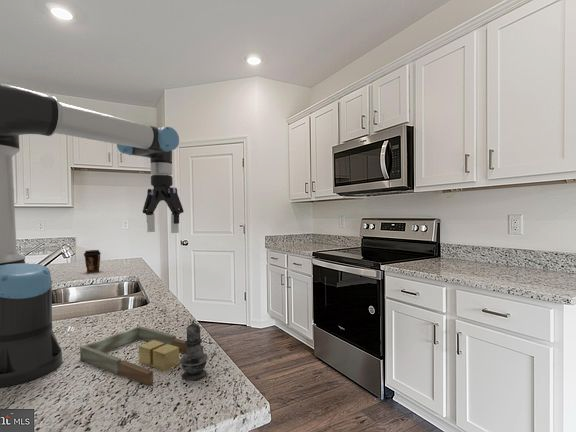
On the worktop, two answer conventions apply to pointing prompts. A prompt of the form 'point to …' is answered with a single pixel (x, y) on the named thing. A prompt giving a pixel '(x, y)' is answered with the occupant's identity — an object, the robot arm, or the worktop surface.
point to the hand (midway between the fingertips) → (162, 232)
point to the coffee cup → (92, 261)
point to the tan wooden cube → (165, 357)
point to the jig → (113, 364)
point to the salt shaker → (193, 355)
